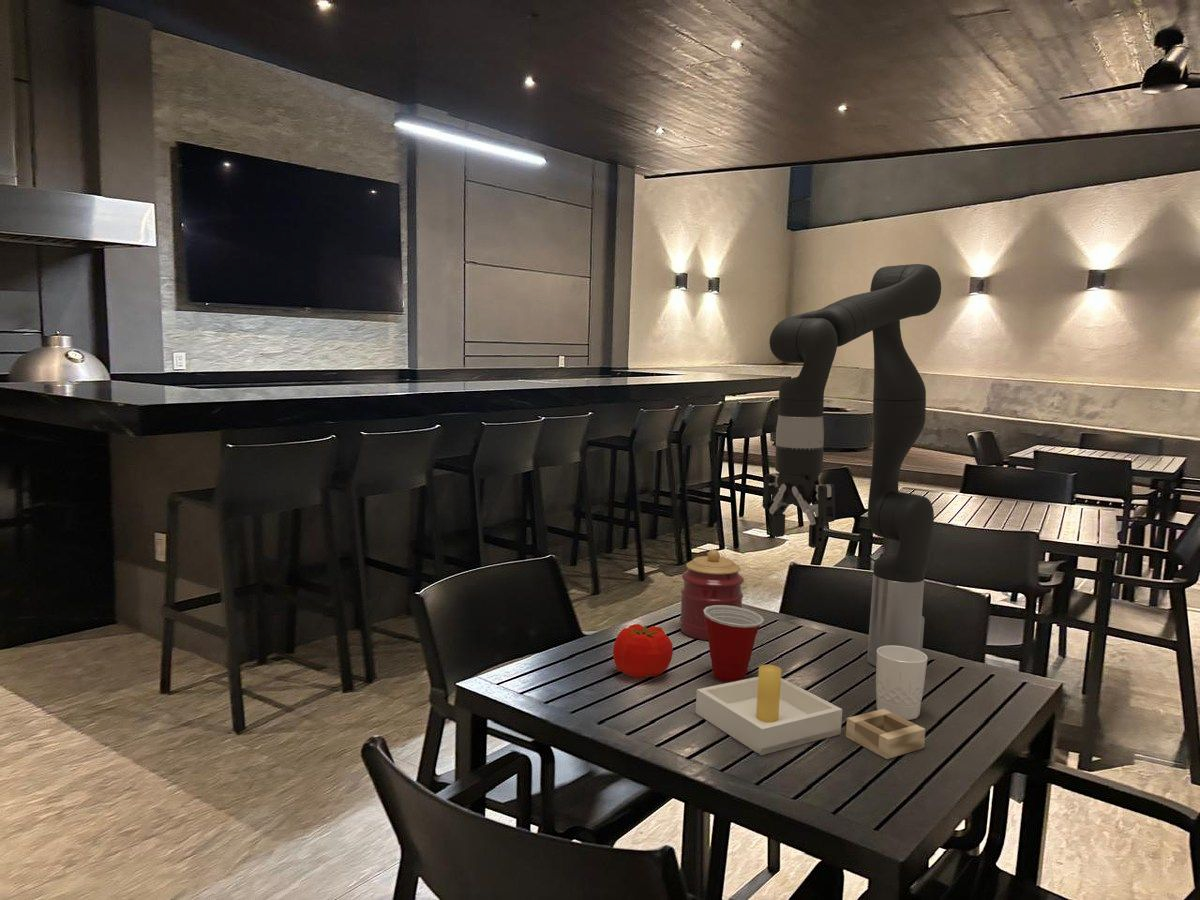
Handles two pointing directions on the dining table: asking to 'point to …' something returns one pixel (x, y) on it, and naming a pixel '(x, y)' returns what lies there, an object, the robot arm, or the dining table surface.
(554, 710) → the dining table surface
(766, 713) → the dowel
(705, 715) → the tray
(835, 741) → the dining table surface
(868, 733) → the socket block
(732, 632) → the plastic cup
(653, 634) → the tomato
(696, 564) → the canister
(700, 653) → the dining table surface
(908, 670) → the white cup
